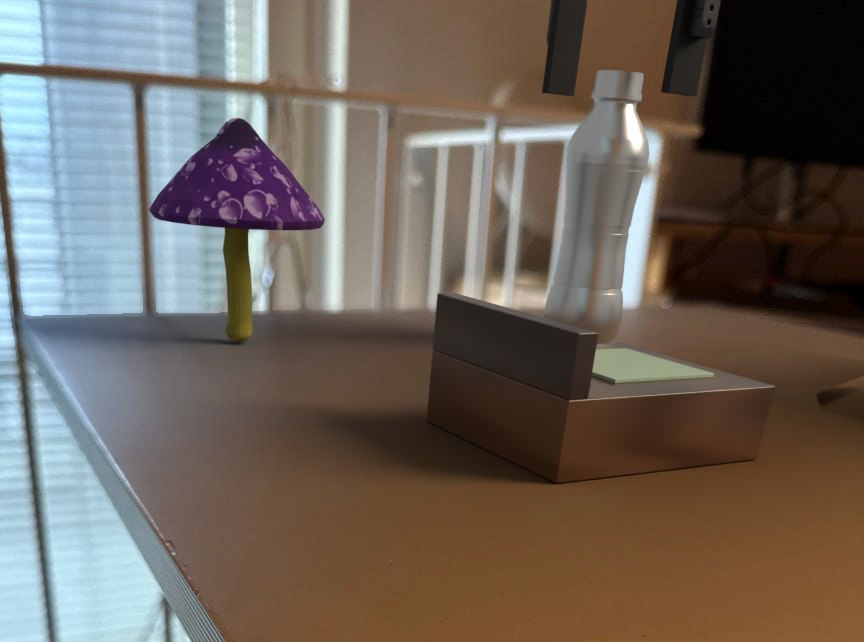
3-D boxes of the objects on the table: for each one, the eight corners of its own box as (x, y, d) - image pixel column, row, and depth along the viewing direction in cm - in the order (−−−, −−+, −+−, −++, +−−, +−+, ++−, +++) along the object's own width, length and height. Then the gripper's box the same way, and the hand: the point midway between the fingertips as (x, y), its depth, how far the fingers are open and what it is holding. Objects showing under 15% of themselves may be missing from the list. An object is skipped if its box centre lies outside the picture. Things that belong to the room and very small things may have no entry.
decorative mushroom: (245, 323, 80) (245, 120, 74) (355, 348, 73) (366, 127, 67) (119, 336, 72) (106, 107, 65) (231, 366, 65) (229, 114, 58)
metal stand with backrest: (611, 406, 62) (631, 292, 58) (757, 459, 52) (790, 327, 49) (425, 421, 55) (436, 292, 52) (555, 484, 46) (578, 333, 43)
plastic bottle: (533, 348, 79) (571, 65, 70) (545, 336, 85) (582, 74, 75) (612, 358, 77) (661, 70, 68) (619, 345, 83) (665, 78, 74)
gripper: (514, -242, 71) (480, 90, 80) (787, -365, 52) (699, 88, 61) (593, -217, 74) (551, 98, 84) (876, -324, 55) (779, 99, 65)
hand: (613, 95), depth 73 cm, fingers open, 13 cm apart
